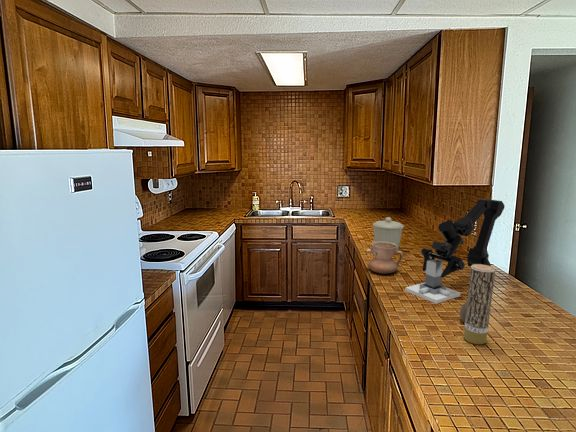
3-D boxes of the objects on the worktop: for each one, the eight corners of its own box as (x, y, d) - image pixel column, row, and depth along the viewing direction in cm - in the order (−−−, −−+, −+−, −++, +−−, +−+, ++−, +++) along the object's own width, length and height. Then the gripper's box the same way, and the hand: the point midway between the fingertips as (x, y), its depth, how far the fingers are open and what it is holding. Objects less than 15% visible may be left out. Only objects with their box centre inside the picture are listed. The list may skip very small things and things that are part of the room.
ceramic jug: (366, 275, 187) (367, 247, 184) (364, 266, 201) (366, 240, 198) (403, 277, 184) (406, 249, 182) (399, 268, 198) (401, 241, 196)
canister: (405, 256, 221) (408, 220, 217) (374, 255, 221) (376, 219, 217) (397, 247, 238) (399, 214, 235) (368, 247, 239) (370, 214, 235)
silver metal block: (431, 287, 167) (433, 259, 165) (440, 290, 163) (443, 261, 161) (424, 289, 165) (426, 260, 162) (433, 292, 161) (436, 263, 159)
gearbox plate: (428, 284, 175) (429, 277, 175) (460, 296, 162) (461, 288, 161) (405, 290, 167) (405, 283, 166) (436, 303, 154) (436, 295, 153)
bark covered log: (466, 333, 130) (474, 262, 125) (488, 339, 125) (497, 267, 121) (460, 340, 124) (468, 267, 120) (483, 347, 120) (492, 272, 116)
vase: (468, 328, 133) (470, 304, 132) (454, 319, 140) (457, 297, 138) (484, 326, 135) (487, 302, 133) (470, 317, 142) (472, 295, 140)
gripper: (425, 230, 170) (406, 257, 166) (463, 239, 154) (443, 269, 150) (434, 245, 175) (417, 271, 171) (472, 255, 160) (454, 284, 156)
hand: (431, 273), depth 162 cm, fingers open, 9 cm apart
